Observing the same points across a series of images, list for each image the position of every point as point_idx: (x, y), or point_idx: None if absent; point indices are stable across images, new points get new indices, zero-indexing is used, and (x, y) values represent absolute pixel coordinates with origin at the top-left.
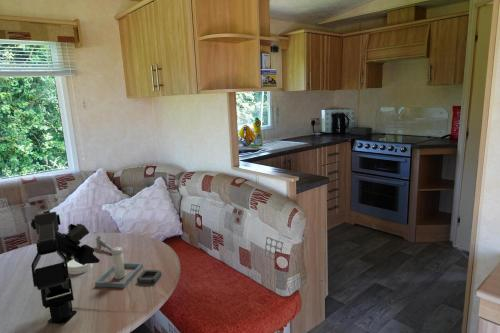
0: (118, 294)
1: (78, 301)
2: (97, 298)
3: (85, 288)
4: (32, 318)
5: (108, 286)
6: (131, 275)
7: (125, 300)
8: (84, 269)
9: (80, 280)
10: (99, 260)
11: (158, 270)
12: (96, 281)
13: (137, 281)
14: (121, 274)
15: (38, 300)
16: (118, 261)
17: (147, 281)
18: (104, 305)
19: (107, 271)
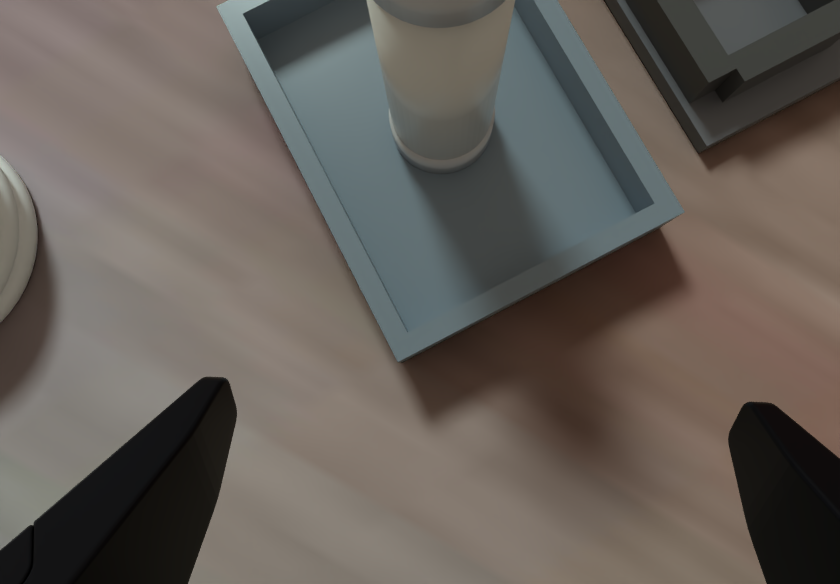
0: (683, 306)
1: (472, 578)
2: (578, 451)
3: (319, 417)
4: None
5: (522, 298)
6: (602, 77)
7: (827, 329)
8: (15, 250)
9: (141, 364)
10: (771, 410)
11: None
12: (397, 343)
13: (695, 97)
14: (490, 119)
15: None
16: (501, 50)
17: (811, 52)
18: None
19: (309, 164)
